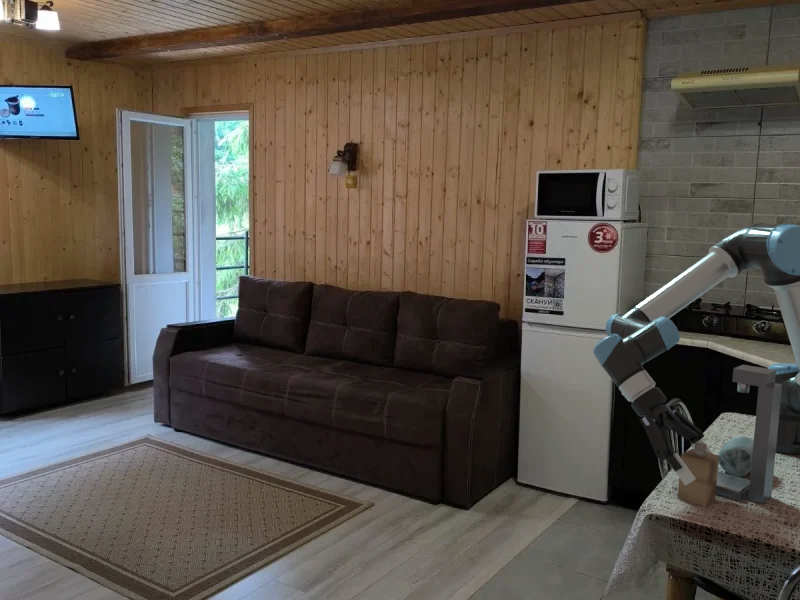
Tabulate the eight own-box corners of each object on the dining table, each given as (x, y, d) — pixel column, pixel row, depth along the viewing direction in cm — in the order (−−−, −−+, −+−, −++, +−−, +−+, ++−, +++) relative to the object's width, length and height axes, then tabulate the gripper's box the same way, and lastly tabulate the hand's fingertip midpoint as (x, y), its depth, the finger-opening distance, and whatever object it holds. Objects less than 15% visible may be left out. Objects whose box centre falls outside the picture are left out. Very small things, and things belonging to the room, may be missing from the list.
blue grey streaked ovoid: (756, 472, 166) (742, 430, 169) (716, 480, 171) (704, 440, 175) (775, 472, 175) (762, 432, 179) (737, 480, 181) (725, 441, 185)
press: (711, 477, 171) (721, 359, 167) (774, 494, 161) (786, 369, 158) (695, 488, 164) (705, 365, 160) (759, 506, 154) (771, 376, 150)
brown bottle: (688, 490, 162) (692, 438, 161) (715, 498, 158) (719, 444, 157) (677, 498, 158) (681, 444, 156) (704, 506, 154) (709, 450, 152)
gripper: (654, 394, 176) (711, 468, 168) (605, 413, 158) (666, 497, 150) (677, 377, 172) (737, 452, 163) (629, 394, 154) (693, 480, 145)
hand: (703, 474), depth 156 cm, fingers open, 13 cm apart
